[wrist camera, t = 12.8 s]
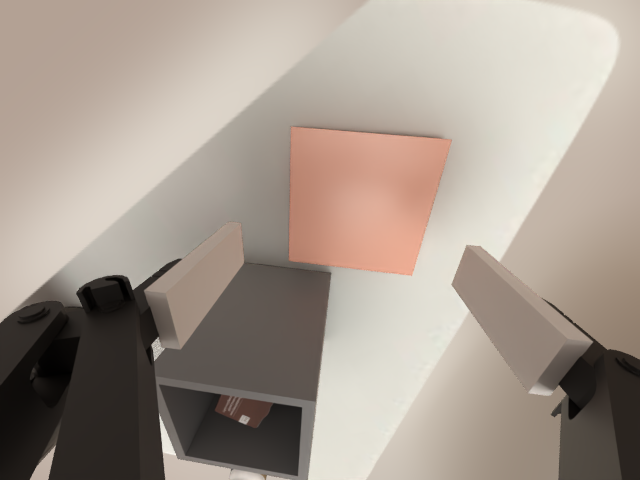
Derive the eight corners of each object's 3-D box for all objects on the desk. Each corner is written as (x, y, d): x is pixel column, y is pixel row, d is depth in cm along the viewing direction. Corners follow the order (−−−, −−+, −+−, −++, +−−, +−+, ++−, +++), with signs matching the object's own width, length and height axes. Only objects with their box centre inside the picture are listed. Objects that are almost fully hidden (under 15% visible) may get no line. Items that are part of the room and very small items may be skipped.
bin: (243, 330, 32) (177, 458, 20) (237, 261, 28) (143, 374, 15) (323, 341, 32) (307, 482, 19) (331, 273, 27) (315, 401, 14)
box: (274, 280, 28) (228, 375, 17) (308, 295, 29) (284, 397, 18) (259, 313, 31) (211, 413, 20) (290, 326, 31) (260, 432, 20)
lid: (293, 250, 26) (288, 260, 24) (296, 126, 21) (290, 126, 19) (407, 264, 26) (412, 275, 24) (441, 138, 20) (452, 139, 18)
